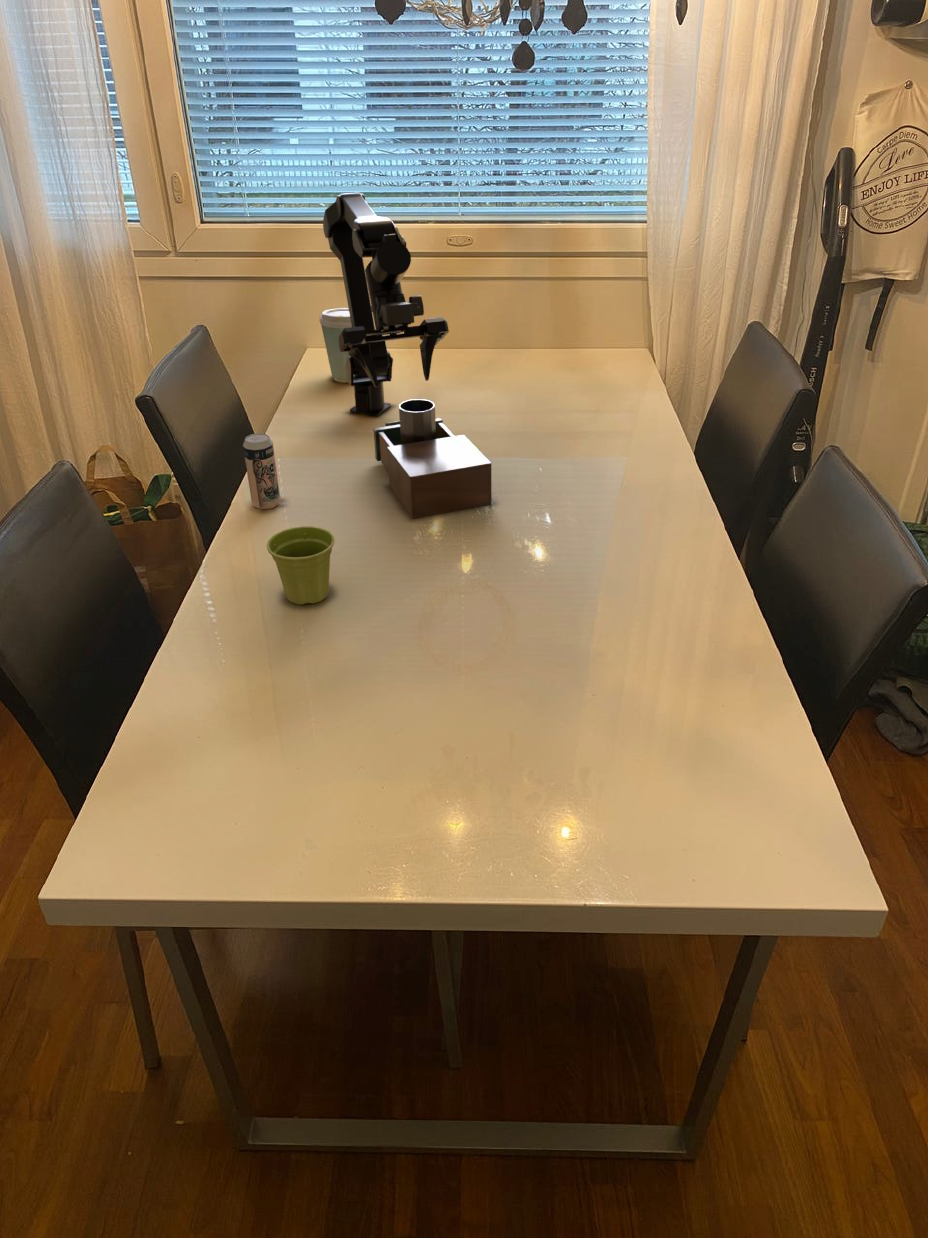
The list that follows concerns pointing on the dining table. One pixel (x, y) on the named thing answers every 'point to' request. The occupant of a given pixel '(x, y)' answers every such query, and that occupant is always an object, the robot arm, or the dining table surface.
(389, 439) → the drawer
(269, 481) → the beer can
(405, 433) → the tapered cup
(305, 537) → the plant pot
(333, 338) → the disposable coffee cup
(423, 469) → the cabinet
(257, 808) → the dining table surface
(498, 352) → the dining table surface
